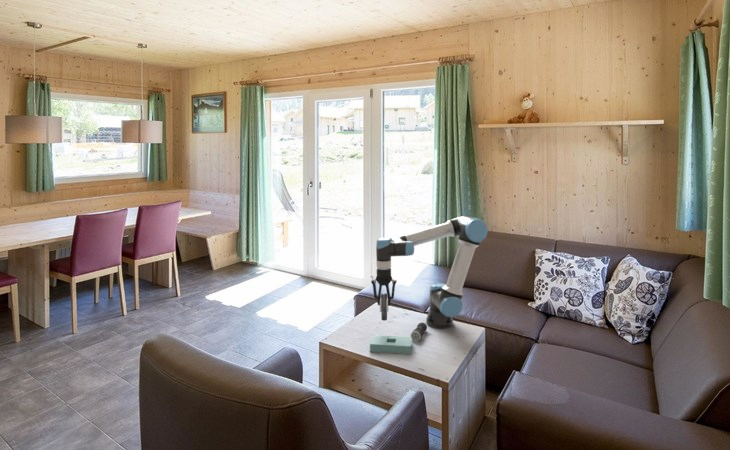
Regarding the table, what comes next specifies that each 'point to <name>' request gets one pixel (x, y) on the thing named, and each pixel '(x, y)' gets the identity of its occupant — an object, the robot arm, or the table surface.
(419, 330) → the flashlight
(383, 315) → the peg
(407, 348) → the hole block
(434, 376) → the table surface
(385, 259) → the robot arm
